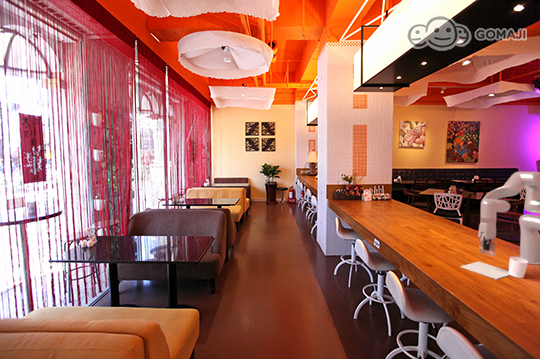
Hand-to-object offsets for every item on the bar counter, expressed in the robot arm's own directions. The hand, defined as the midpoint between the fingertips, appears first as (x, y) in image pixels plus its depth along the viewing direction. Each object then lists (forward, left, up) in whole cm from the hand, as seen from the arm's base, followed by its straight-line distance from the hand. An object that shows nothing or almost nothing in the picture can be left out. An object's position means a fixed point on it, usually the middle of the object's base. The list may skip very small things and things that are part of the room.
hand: (487, 249), depth 166 cm
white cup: (-6, +12, -13) cm, 19 cm away
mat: (0, 0, -13) cm, 13 cm away
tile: (0, 0, -3) cm, 3 cm away
